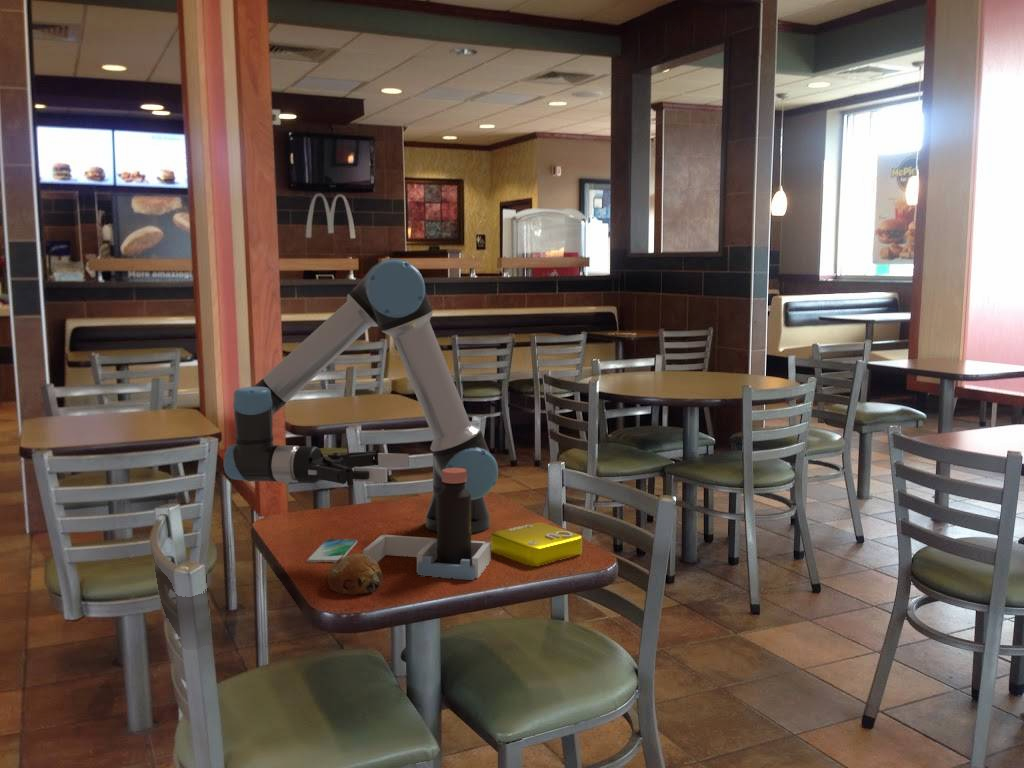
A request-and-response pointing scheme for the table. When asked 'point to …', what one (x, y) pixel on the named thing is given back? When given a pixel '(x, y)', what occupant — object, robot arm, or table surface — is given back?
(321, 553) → the smartphone
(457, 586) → the table surface
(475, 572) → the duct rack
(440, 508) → the vinegar
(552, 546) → the element tile
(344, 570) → the bread roll
